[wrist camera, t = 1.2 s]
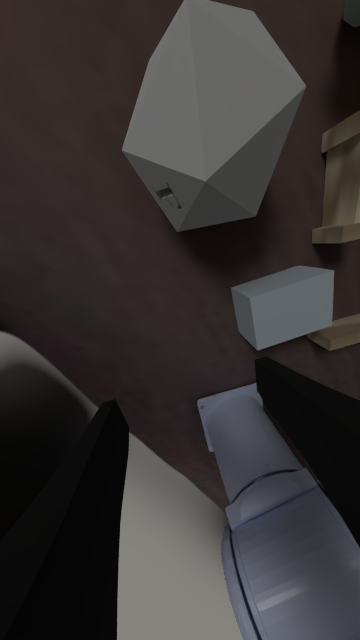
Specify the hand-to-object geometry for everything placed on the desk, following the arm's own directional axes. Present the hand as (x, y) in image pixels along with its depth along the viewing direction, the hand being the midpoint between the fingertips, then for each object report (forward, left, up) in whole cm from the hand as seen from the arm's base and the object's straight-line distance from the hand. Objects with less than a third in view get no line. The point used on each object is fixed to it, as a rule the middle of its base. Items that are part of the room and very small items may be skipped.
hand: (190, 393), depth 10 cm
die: (+12, -5, -10) cm, 16 cm away
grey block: (0, -10, -10) cm, 14 cm away
